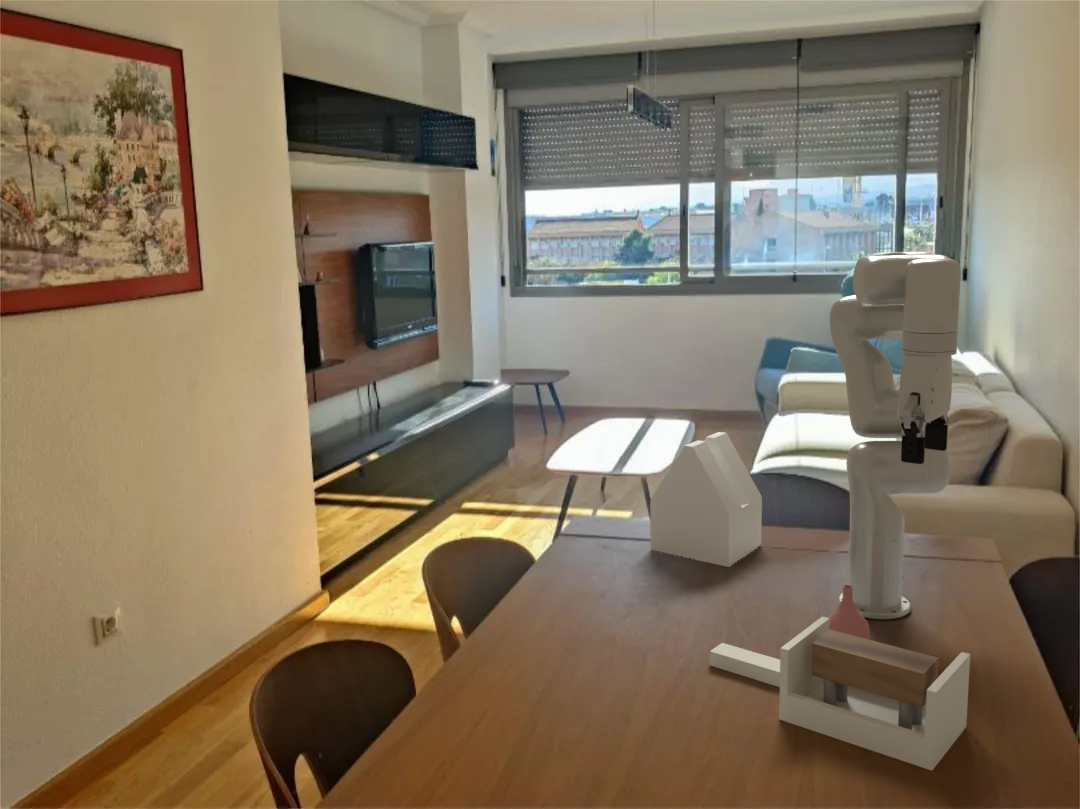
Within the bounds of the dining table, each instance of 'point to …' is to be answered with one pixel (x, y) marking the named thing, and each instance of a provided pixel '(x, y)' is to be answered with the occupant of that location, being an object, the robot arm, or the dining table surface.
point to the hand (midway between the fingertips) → (924, 455)
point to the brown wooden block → (874, 667)
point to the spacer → (746, 663)
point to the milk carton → (707, 505)
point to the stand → (873, 707)
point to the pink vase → (849, 617)
